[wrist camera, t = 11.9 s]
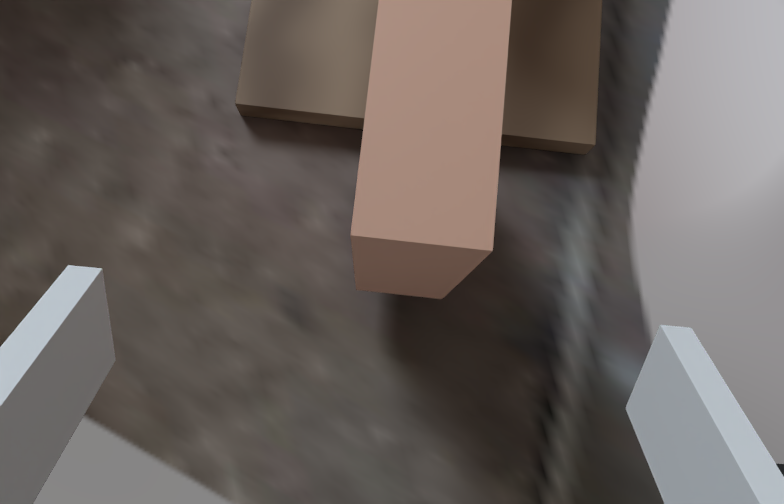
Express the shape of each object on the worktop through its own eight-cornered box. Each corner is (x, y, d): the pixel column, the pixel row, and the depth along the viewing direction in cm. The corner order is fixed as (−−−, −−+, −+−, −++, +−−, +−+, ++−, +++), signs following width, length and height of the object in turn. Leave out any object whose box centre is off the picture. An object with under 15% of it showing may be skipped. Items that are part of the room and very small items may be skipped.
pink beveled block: (356, 289, 30) (350, 235, 18) (375, 127, 31) (381, -23, 19) (442, 299, 30) (492, 250, 18) (456, 136, 31) (512, -7, 19)
